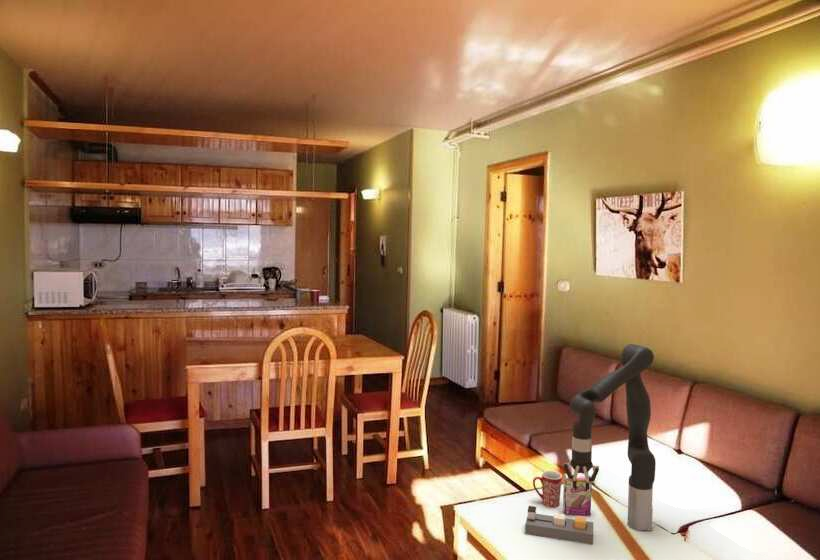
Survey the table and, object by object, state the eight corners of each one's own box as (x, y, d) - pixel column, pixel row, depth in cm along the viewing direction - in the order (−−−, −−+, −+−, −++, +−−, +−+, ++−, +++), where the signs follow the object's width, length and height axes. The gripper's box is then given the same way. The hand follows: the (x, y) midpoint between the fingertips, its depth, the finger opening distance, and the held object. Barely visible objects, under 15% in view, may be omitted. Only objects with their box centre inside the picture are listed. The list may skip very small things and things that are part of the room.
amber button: (585, 524, 230) (585, 517, 230) (585, 529, 226) (585, 522, 226) (574, 523, 231) (575, 515, 231) (574, 528, 228) (574, 521, 227)
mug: (561, 500, 260) (561, 471, 258) (562, 509, 251) (562, 479, 250) (532, 497, 262) (533, 468, 261) (532, 506, 254) (532, 477, 252)
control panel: (593, 531, 232) (593, 522, 232) (592, 544, 223) (593, 534, 222) (528, 521, 241) (528, 512, 240) (525, 533, 231) (525, 524, 231)
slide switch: (536, 520, 236) (536, 506, 236) (534, 525, 233) (535, 511, 232) (528, 519, 237) (528, 505, 237) (527, 524, 234) (527, 510, 233)
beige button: (565, 521, 233) (565, 514, 232) (564, 526, 229) (564, 519, 228) (554, 520, 234) (554, 512, 234) (553, 525, 230) (553, 517, 230)
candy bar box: (564, 515, 246) (565, 478, 244) (562, 509, 251) (563, 473, 249) (591, 516, 245) (592, 479, 243) (588, 510, 250) (589, 474, 248)
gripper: (600, 446, 227) (599, 488, 229) (563, 442, 232) (563, 483, 233) (600, 453, 220) (599, 496, 222) (562, 449, 225) (561, 491, 226)
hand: (580, 489), depth 227 cm, fingers open, 3 cm apart
